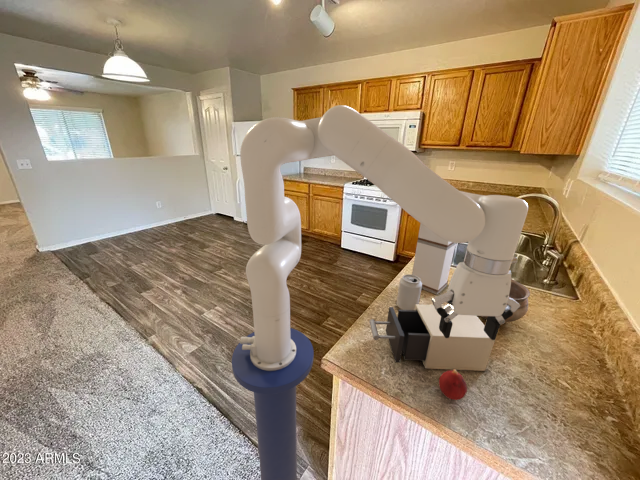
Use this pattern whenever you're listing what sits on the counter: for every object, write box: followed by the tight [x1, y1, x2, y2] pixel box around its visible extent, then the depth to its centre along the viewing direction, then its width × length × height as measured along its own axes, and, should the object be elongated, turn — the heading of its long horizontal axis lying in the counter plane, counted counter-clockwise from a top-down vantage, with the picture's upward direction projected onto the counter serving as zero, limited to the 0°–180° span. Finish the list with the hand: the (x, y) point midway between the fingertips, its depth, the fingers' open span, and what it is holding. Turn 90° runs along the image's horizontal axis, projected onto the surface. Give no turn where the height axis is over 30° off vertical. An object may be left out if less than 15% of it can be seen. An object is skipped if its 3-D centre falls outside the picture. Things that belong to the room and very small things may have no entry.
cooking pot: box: [480, 278, 531, 323], centre depth 91 cm, size 25×19×12 cm
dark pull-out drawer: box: [369, 306, 431, 364], centre depth 75 cm, size 21×13×9 cm, turn 88°
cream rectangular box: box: [415, 303, 496, 372], centre depth 75 cm, size 16×14×11 cm
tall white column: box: [411, 223, 458, 296], centre depth 106 cm, size 11×11×35 cm
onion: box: [438, 369, 468, 401], centre depth 61 cm, size 6×6×8 cm
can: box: [396, 273, 422, 310], centre depth 94 cm, size 8×8×12 cm
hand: (466, 334), depth 56 cm, fingers open, 9 cm apart
